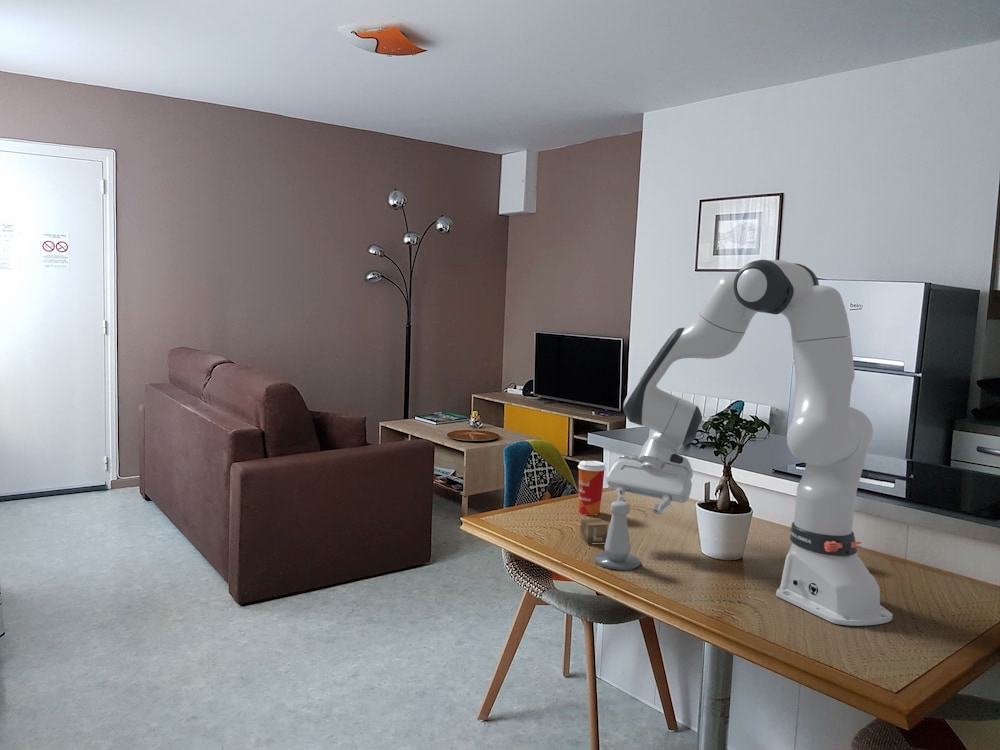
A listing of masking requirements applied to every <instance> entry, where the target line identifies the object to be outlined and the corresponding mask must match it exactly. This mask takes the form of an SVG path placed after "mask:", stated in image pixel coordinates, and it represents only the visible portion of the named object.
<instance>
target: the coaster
mask: <svg viewBox="0 0 1000 750" xmlns="http://www.w3.org/2000/svg"><path fill="white" fill-rule="evenodd" d="M595 562H596V563H598V564H599V565H601V566H603V567H602V568H604V567H606V568H605V569H607V568H610V569H609V570H612V569H617V570H616V571H623V570H624V571H631V569H633V570H636V569H638V568H639V567H640V566H641V565H640V563H641V561H640V559H639V558H638V557H637V556H635V555H633V554H630V553H629V555H628V557H627V558H626V560H625V561H622V562H616V561H611V560H609V559H608V558H607V555H606V552H605V551H602V552H599V553H596V554H595V555H594V563H595ZM596 563H595V564H596ZM598 564H597V565H598ZM599 565H598V566H599ZM601 566H600V567H601ZM637 567H638V568H637ZM635 568H636V569H635Z"/></svg>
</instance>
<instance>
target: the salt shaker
mask: <svg viewBox="0 0 1000 750" xmlns="http://www.w3.org/2000/svg"><path fill="white" fill-rule="evenodd" d="M609 509H610V510H609V511H610V512H611V513H612V514H611V519H610V522H609V525H608V530H607V538H606V543H605V544H604V552H606V555H607V558H608V559H609V560H611V561H616V562H622V561H625V560H626V558H627V557H628V555H629V554H630V552H631V541H630V533H629V526H628V519H627V515H628V514H629V513H630V509H631V506H630V504H629V503H628V502H627V501H626V502H623V501H617V500H615V501H612V502H611V504H610V507H609Z"/></svg>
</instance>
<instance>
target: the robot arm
mask: <svg viewBox="0 0 1000 750" xmlns="http://www.w3.org/2000/svg"><path fill="white" fill-rule="evenodd" d="M816 275H817V274H815V273H814V271H813V270H811V268H809V267H807V266H805V265H803V264H801V263H796V262H795V263H793V262H789V261H786V260H782V259H781V260H780V259H770V260H769V259H759V260H754V261H751V262H748V263H747V264H745V265H744V266H742V267H740V269H739V270H738V271H737V273H727V274H724V275H723V276H721V277H720V278H719V279H718V280H717V281H716V283H715V284H714V285H713V287H712V288H711V290H710V292H709V293H708V294H707V296H706V298H705V300H704V302H703V304H702V306H701V308H700V310H699V312H698V314H697V316H696V317H695V318H694V320H693V321H692V322H691V323H690V324H689V325H687V326H685V327H678V328H677V329H676V330H674V331H673V332H672V334H671V335H670V336H669V337H668V338H667V340H666V342H664V344H663V345H662V347H661V348H660V349H659V351H658V352H657V354H656V356H655V357H654V359H652V361H651V362H650V364H649V366H648V367H647V369H646V370H645V372H644V373H643V375H642V376H641V378H640V379H639V380H638V382H636V384H635V385H634V386H633V387H632V388H631V389H630V390H629V391H628V393H627V395H626V397H625V399H624V401H623V405H622V406H623V407H622V410H623V412H624V415H625V416H626V419H627V420H628V421H629V422H630V423H633V424H635V425H638V426H643V427H646V428H647V429H649V431H648V438H647V439H646V441H645V442H644V443H643V446H642V449H641V451H640V453H639V455H638V457H636V456H635V457H634V456H628V455H622V456H619V457H616V458H615V460H614V461H613V464H612V467H611V468H610V470H609V471H608V474H607V476H606V478H605V481H606V483H607V485H608V487H609V489H611V490H614V491H616V493H617V498H616V501H623V502H626V503H627V500H625V497H623V496H624V495H625V493H630V494H635V495H640V496H645V497H649V498H654V499H660V500H662V501H660V502H659V504H658V503H655V505H654V507H653V513H654V514H656V515H660V516H661V515H662V513H663V511H664V509H666V508H667V507H669V505H671V503H672V502H674V503H681V504H684V503H686V502H687V501H688V500H689V499H690V495H691V491H692V487H693V485H692V484H693V483H692V478H693V475H694V473H693V469H692V465H691V463H690V461H689V459H688V458H686V457H685V456H683V455H680V450H681V449H682V447H685V446H686V445H688V444H690V443H692V442H693V441H695V438H696V436H697V433H698V431H699V427H700V424H701V423H702V420H703V414H702V412H701V409H700V408H699V406H698V405H696V404H695V403H693V402H691V401H689V400H687V399H684V398H681V397H679V396H677V395H674V394H671V393H669V392H667V391H664V390H662V389H660V388H659V387H658V386H657V385H658V384H659V382H660V381H661V379H662V378H663V376H664V375H665V374H666V372H668V370H669V368H670V367H671V366H672V364H673V363H675V362H676V361H679V360H682V359H683V360H684V359H701V360H702V359H703V360H705V359H706V360H710V359H711V360H713V359H714V360H715V359H719V358H723V357H726V356H728V355H730V354H732V353H733V352H734V351H735V350H736V349H737V347H738V346H739V345H740V343H741V341H742V339H743V337H744V335H745V333H746V331H747V330H748V327H749V325H750V323H751V321H752V319H753V317H754V316H755V315H756V314H757V313H764V314H765V313H766V314H771V315H779V314H781V315H783V316H784V317H786V320H788V323H789V326H790V333H791V343H792V344H791V345H792V352H793V364H794V373H795V374H794V375H795V376H794V377H795V388H794V400H793V410H792V419H791V423H790V426H789V428H788V431H787V433H786V443H787V447H788V449H789V451H790V453H791V454H792V456H793V457H795V458H796V460H798V461H800V462H802V463H805V464H806V465H805V468H804V471H803V473H802V476H801V479H800V481H799V482H798V484H797V487H796V496H795V508H794V509H795V510H794V518H793V522H792V523H791V528H790V531H789V532H790V537H789V540H790V542H791V545H790V547H789V550H788V552H787V554H786V557H785V561H784V565H783V569H782V570H783V571H782V574H781V575H782V576H781V581H780V585H779V587H778V588H777V589H776V592H775V596H776V597H778V598H780V599H782V600H784V601H785V602H788V603H790V604H792V605H795V606H797V607H799V608H801V609H803V610H805V611H807V612H809V613H811V614H813V615H815V616H817V617H820V618H821V619H823V620H826V621H828V622H830V623H832V624H836V625H843V626H855V627H857V626H861V627H862V626H874V625H875V626H876V625H882V624H887V623H889V622H891V621H893V619H894V617H893V616H894V615H893V613H892V612H891V611H890V610H888V609H886V608H885V607H884V606H883V605H881V592H880V591H881V589H880V585H879V584H878V582H877V581H876V578H875V576H874V575H873V574H871V573H870V570H869V569H868V568H867V566H865V564H864V563H863V561H862V559H861V558H860V556H859V555H858V554H857V552H858V548H862V546H861V545H860V544H862V541H856V537H855V533H854V531H853V523H854V516H855V505H856V498H857V492H858V486H859V484H860V480H861V477H862V474H863V470H864V466H865V461H866V459H867V452H868V448H869V445H870V444H871V441H872V438H873V435H874V429H873V428H874V427H873V424H872V421H871V419H870V418H869V417H868V416H867V415H866V414H865V413H864V412H863V411H861V410H860V409H857V408H855V407H852V406H850V404H851V395H852V386H853V382H854V379H855V364H854V356H853V355H854V354H853V345H852V338H851V330H850V325H849V324H850V323H849V319H848V314H847V311H846V307H845V304H844V301H843V298H842V295H841V293H840V292H839V291H838V290H837V289H835V288H834V287H832V286H828V285H823V284H821V285H820V282H819V278H818V277H817V276H816Z"/></svg>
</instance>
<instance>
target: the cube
mask: <svg viewBox="0 0 1000 750" xmlns="http://www.w3.org/2000/svg"><path fill="white" fill-rule="evenodd" d="M579 525H580V527H579V539H580V538H581V539H582V540H584V541H585V542H586V543H587V544H592V543H606V538H607V534H608V530H609V524H608V523H607V522H606V521H605V520H604V519H602V518H599V517H596V518H595V517H594V518H592V517H591V518H580V524H579ZM581 539H580V540H581ZM582 540H581V541H582ZM585 542H584V543H585ZM586 543H585V544H586ZM587 544H586V545H587Z"/></svg>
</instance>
